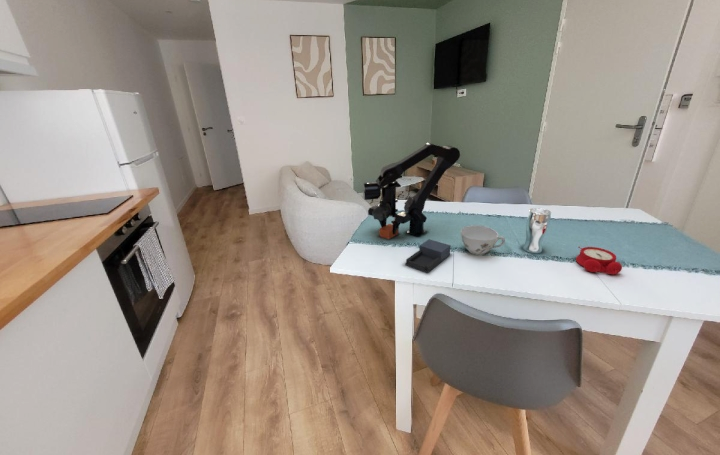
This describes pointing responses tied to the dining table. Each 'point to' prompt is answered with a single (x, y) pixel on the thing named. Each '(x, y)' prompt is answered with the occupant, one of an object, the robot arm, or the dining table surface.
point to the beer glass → (536, 229)
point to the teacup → (480, 239)
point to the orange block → (387, 231)
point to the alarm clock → (598, 260)
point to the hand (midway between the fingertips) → (389, 232)
